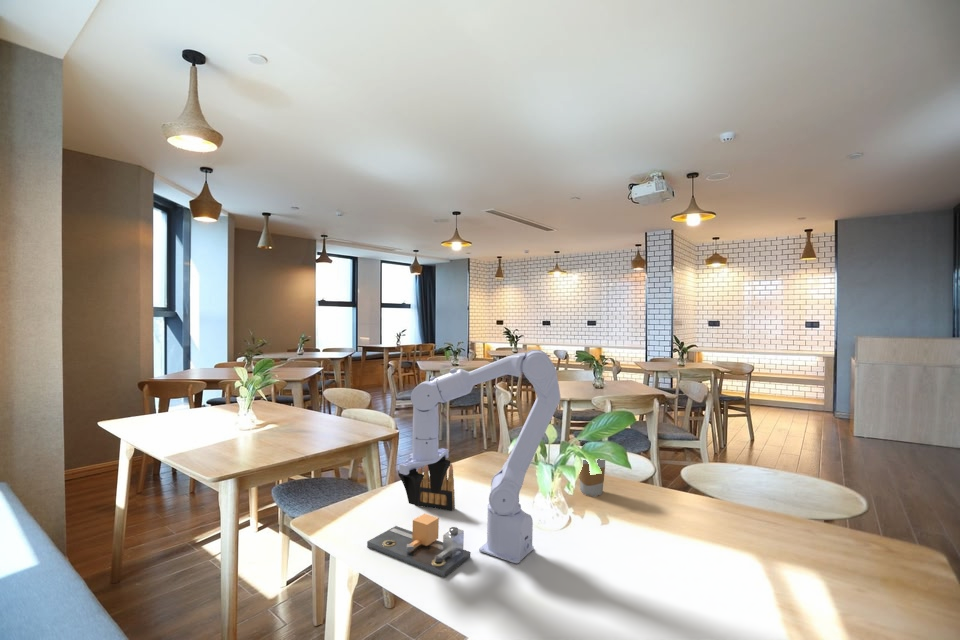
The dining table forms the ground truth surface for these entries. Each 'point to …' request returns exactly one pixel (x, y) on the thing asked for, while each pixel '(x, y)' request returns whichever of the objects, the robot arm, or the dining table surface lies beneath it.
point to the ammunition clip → (434, 500)
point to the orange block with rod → (424, 531)
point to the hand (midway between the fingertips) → (424, 498)
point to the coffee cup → (591, 478)
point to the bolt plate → (424, 550)
